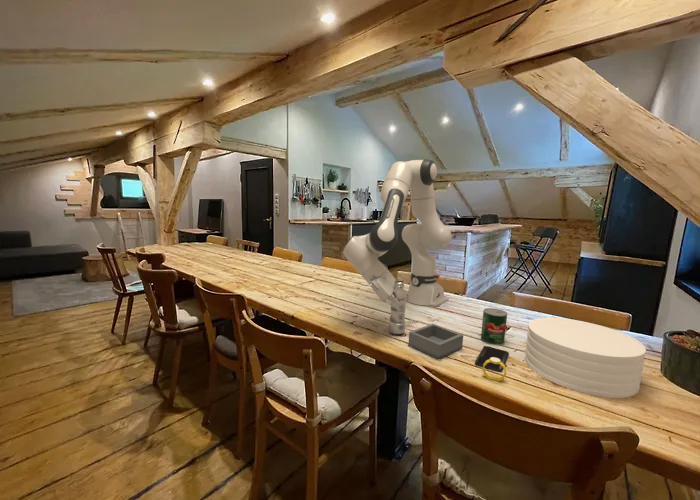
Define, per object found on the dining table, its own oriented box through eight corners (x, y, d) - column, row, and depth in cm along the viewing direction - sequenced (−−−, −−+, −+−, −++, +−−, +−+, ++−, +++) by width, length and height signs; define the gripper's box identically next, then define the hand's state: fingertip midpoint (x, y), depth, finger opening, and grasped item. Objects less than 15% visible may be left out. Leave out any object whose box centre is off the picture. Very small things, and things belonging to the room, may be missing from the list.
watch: (482, 379, 89) (482, 359, 88) (483, 374, 91) (483, 355, 91) (505, 384, 86) (506, 363, 85) (505, 379, 88) (506, 359, 88)
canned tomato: (490, 346, 109) (493, 316, 108) (476, 337, 117) (478, 308, 115) (509, 344, 112) (512, 314, 110) (493, 335, 119) (496, 307, 117)
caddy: (432, 336, 116) (433, 323, 116) (462, 348, 107) (463, 334, 106) (408, 345, 108) (409, 331, 107) (438, 360, 99) (439, 345, 98)
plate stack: (638, 369, 96) (644, 334, 95) (640, 413, 76) (648, 368, 74) (535, 341, 115) (538, 311, 113) (514, 370, 94) (518, 334, 92)
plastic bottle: (406, 330, 121) (409, 280, 118) (404, 337, 114) (407, 284, 112) (389, 328, 123) (391, 278, 120) (386, 335, 116) (389, 282, 113)
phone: (509, 351, 104) (501, 370, 92) (509, 355, 104) (501, 374, 92) (484, 345, 108) (473, 362, 96) (483, 348, 109) (473, 365, 96)
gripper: (375, 274, 107) (402, 304, 106) (385, 263, 126) (409, 289, 125) (362, 285, 109) (389, 315, 108) (374, 273, 128) (397, 299, 127)
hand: (399, 301), depth 117 cm, fingers closed on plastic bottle, 6 cm apart
